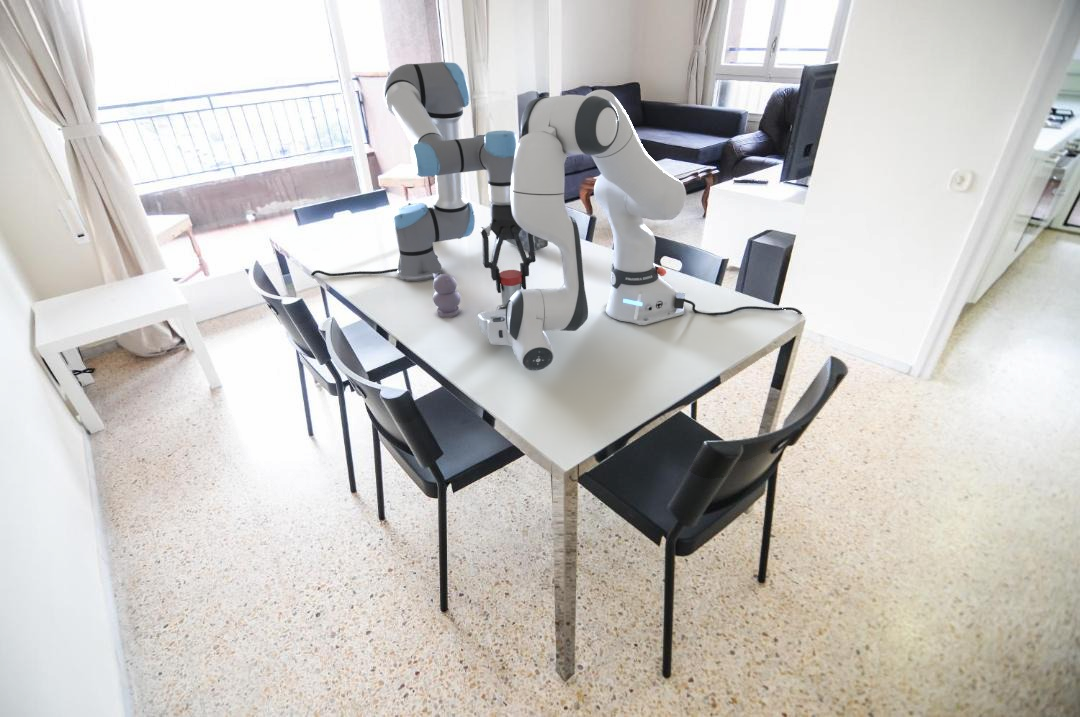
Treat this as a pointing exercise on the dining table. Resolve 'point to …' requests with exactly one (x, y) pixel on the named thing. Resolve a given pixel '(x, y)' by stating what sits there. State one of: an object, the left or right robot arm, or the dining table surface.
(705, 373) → the dining table surface
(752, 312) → the dining table surface
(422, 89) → the left robot arm
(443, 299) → the cat figurine
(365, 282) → the dining table surface
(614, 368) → the dining table surface
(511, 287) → the grey cylinder
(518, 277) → the lid
